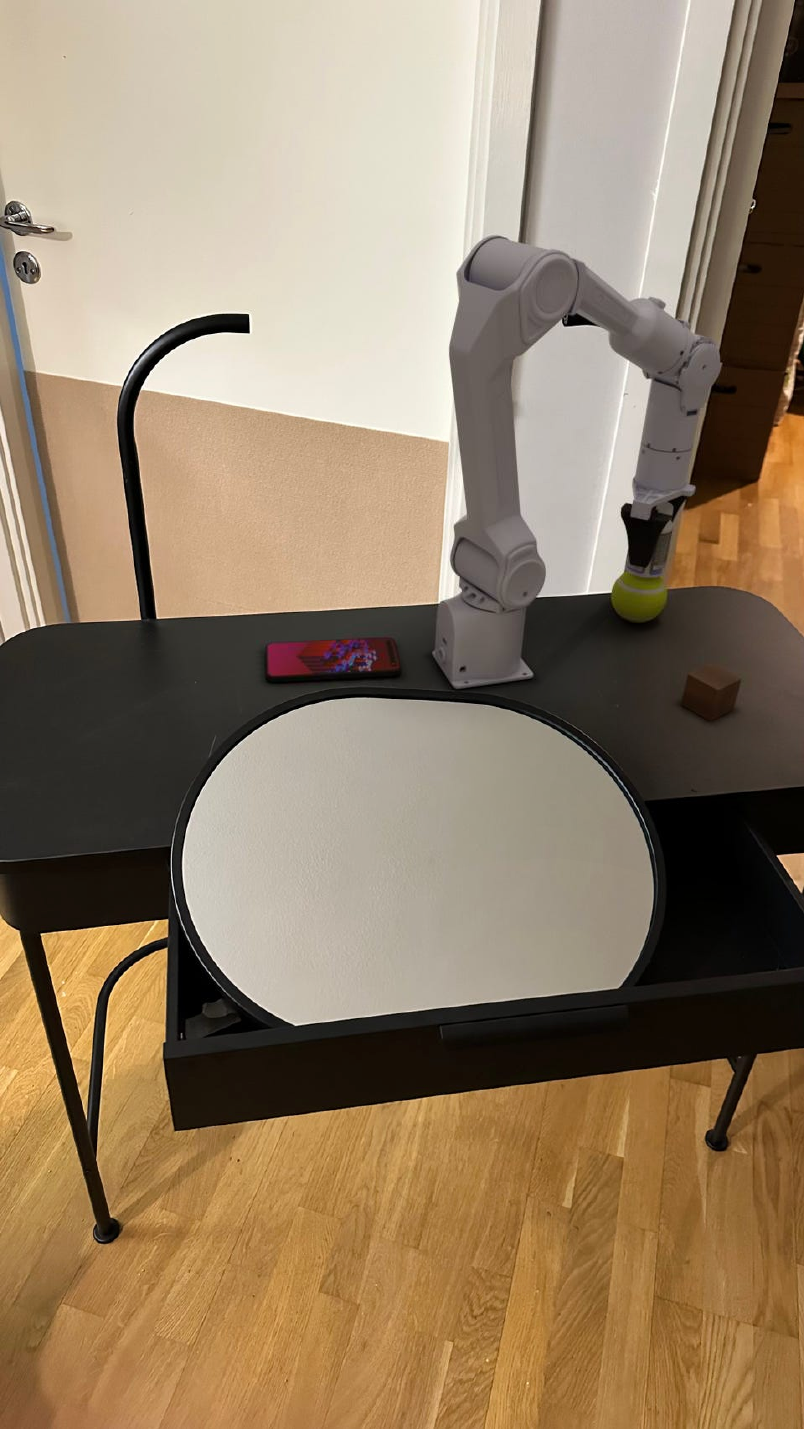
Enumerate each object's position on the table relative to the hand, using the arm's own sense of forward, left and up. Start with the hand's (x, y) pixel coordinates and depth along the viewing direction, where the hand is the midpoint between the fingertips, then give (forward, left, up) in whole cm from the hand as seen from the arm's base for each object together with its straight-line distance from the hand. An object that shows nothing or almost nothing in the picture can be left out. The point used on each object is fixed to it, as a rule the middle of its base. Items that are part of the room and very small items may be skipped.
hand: (646, 555), depth 118 cm
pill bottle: (0, 0, -2) cm, 2 cm away
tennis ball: (0, 0, -9) cm, 9 cm away
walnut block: (-2, -20, -9) cm, 22 cm away
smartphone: (-39, -1, -9) cm, 40 cm away
